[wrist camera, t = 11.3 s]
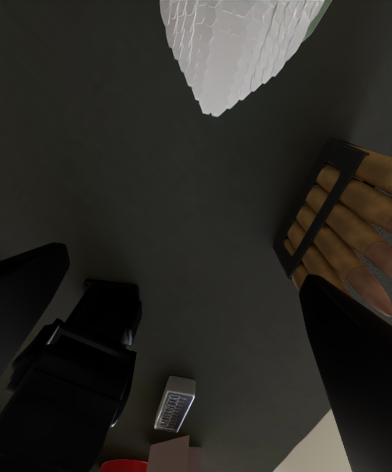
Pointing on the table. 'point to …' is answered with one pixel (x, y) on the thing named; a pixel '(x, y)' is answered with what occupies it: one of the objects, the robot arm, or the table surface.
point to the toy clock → (124, 466)
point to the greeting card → (174, 456)
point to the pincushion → (233, 43)
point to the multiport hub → (175, 403)
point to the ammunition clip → (341, 222)
